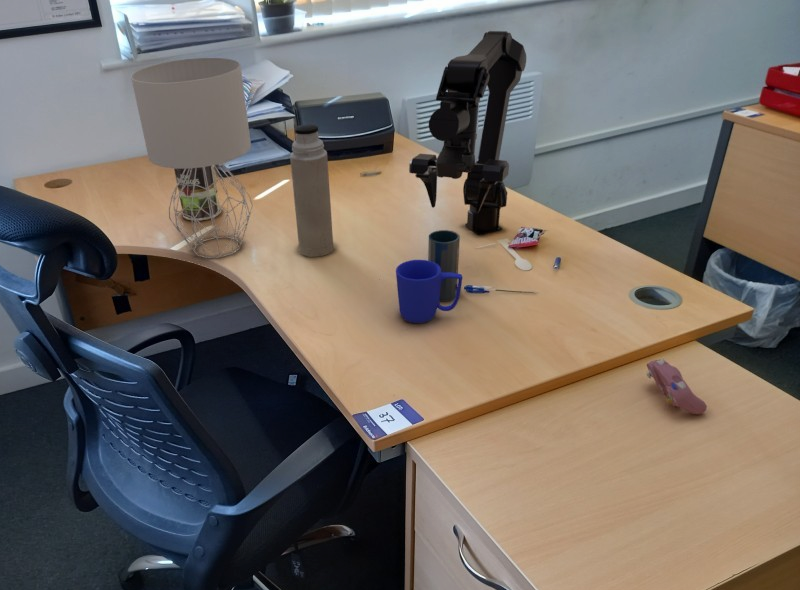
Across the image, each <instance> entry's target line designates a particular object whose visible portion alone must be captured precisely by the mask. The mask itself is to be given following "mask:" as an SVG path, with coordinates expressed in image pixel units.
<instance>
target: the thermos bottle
mask: <svg viewBox="0 0 800 590" xmlns="http://www.w3.org/2000/svg"><path fill="white" fill-rule="evenodd" d="M294 133H295V141H293V142H292V145H291V146H292V147H291V151H292V152H290V154H289V160H290V161H289V162H290V170H291V180H292V181H291V182H292V190H293V199H294V200H293V203H294V213H295V221H296V231H297V232H296V233H297V242H298V250H299V251H298V252H299V253H300V254H301V255H303V256H304V257H310V258H311V257H312V258H315V257H317V258H318V257H323V256H326V255H329V254H330V253H332V252H333V250H334V234H333V222H332V221H333V220H332V203H331V190H330V175H329V161H328V160H329V159H328V152H327V150H326V149H324V147H325V144H324V142H323V140H322V139H320V138H319V137H320V136H319V127H318V125H316V124H311V123H309V124H300V125H297V126H295V127H294Z"/></svg>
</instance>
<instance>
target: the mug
mask: <svg viewBox="0 0 800 590" xmlns="http://www.w3.org/2000/svg"><path fill="white" fill-rule="evenodd" d="M395 278H396V289H397V297H398V310H399V313H400V316H401V317H402V319H403V320H405V321H406V322H409V323H412V324H423V323H427V322H429V321H431V320H432V319H434V317H435V315H436V313H437V310H440V311H443V312H451V311H452V310H453V309H455V307H456V306H457V304H458V303H459V299H460V296H461V290H462V284H463V274H461V273H459V272H458V273H442V272H441V268H440V266H439V265H437V264H436V263H434V262H431V261H428V259H411V260H406V261H403V262H402V263H400V264H399V265H398V266H396V269H395ZM445 278H455V279H458V284H457V293H456V297H455V298H454V299H453V300H452V301H453V302H452V303H450V304H448V305H441V304H440V301H439V296H440V287H441V283H442V281H443V279H445Z"/></svg>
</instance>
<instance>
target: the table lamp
mask: <svg viewBox="0 0 800 590" xmlns="http://www.w3.org/2000/svg"><path fill="white" fill-rule="evenodd" d="M130 79H131V83H132V88H133V92H134V96H135V101H136V107H137V111H138V116H139V120H140V124H141V129H142V134H143V140H144V144H145V147H146V153H147V157H148V161H149V162H150V163H152V164H153V165H154V166H158V167H161V168H167V169H174V168H178V169H184V171H183V173H182V175H181V177H180V179H179V181H178V183H177V182H176V185H175V188H174V189H173V192H171V193H172V194H171V198H170V201H169V206H168V219H169V220H170V222H171V224H172V225H173V226H174V227H175V229H176V230H177V232H178V233H179V234H180V236H181V237H182V238H183V240H184V241H185V243H186V244H188V246H189V247H190V248H191V250H192V251H193V252H194V253H195V255H196V256H197V257H200V258H201V257H202V258H205V259H206V258H207V259H215V258H216V259H217V258H222V257H226V256H230V255H233V254H234V253H236V252H237V251H239V250H240V249H241V247H242V242H243V240H244V237H245V234H246V231H247V228H248V227H247V226H248V224H249V222H250V221H249V220H250V217H251V213H252V210H253V206H254V205H253V201H252V199H251V196H250V194H249V193H248V191H247V189H246V187H245V186H244V184H243V183H242V182H241V181H240V180H239V178H237V177H236V176H235V175H234V174H233V173H232V172H231V171H230V169H228V168H227V167H226V166H225V165H224V163H229V162H231V161H234V160H237V159H238V158H241V157H243V156H244V155H246V154H247V153H248V152H249V151H250V150H251V148H252V143H251V141H252V140H251V135H250V133H251V132H250V126H249V118H248V110H247V103H246V97H245V88H244V81H243V73H242V66H241V62H240V61H238V60H236V59H233V58H227V57H194V58H184V59H177V60H176V59H175V60H171V61H165V62H160V63H155V64H152V65H148V66H145V67H142V68H140V69H138V70H136V71H134V72H133V73H131V75H130ZM213 165H214V167H213ZM207 166H212V168H213V170H214V171H215V176H216V181H215V182H218V181H219V183H220V185H221V187H222V189H223V191H224V193H225V195H226V199H225V200H224V201H223V202H222V204H221V205H220V206H219V205H217V204H216V203H215V202H213V201H212V200H211V198H210V193H209V187H210V186H212V185H213V184H214V183H215V182H214V183H212V184H211V185H210V186H209V187H208V182H207V177H206V171H205V167H207ZM216 166H218V167H219V168H220V170H221V171H222V172H223V173H224V175H225V176H226V177H227V179H229V180H227V179H226V178H225V177H223V176H222V174H221V173H220V171H219V170H218V168H217V167H216ZM199 167H204V168H203V174H204V172H205V174H204V180H205V177H206V181H205V187H206V182H207V187H206V188H204V187H201V186H199V185H196V184H195V177H196V169H197V168H199ZM186 168H189V169H188V172H189V170H190V168H191V171H192V168H195V177H194V183H191V182H189V179H190V175H191V171H190V175H189V178H188V182H187V183H188V184H189V183H191V184H193V185H194V186H195V185H196V186H199V187H201V188H204V189H206V193H207V189H208V193H209V198H208V193H207V199H208V204H209V200H210V204H211V209H212V203H211V201H212V202H213V203H215V204H216V205H217V206H218V207H220V208H219V210H220V209H221V211H223V212H225V213H226V215H225V217H224V218H223V221H222V222H221V224H220V226H219V228H218V227H217V226H216V220H215V218H216V217H217V216H216V215H217V213H218V212H219V210H218V211H217V213H216V214H215V215H214V214H213V209H212V215H213V216H212V215H211V210H210V214H209V213H207V212H206V211H204V210H203V209H202V207H203V205H204V204H205V202H206V200H207V199H206V200H205V202H204V203H203V205H202V207H201V208H200V207H199V206H197V205H196V204H195V203H193V195H194V186H193V195H192V202H191V203H190V204H192V209H191V207H190V204H189V200H188V204H189V205H187V206H186V207H185V208H187V207H188V206H189V207H190V209H191V216H189V215H187V214H184V213H183V212H182V211H183V210H184V209H185V208H184V209H182V208H181V210H180V211H179V210H178V208H179V201H180V195H181V192H182V190H183V189H184V187H185V186H186V185H187V199H188V184H187V183H186V184H185V181H186V178H187V175H188V172H187V175H186V178H185V181H184V183H183V186H184V184H185V186H184V187H183V186H182V189H181V191H180V192H179V191H178V185H179V183H180V181H181V179H182V177H183V174H184V172H185V170H186ZM225 171H226V172H227V173H228V174H229V175H230V176H229V175H228V174H227V173H226V172H225ZM219 176H220V177H219ZM230 177H232V179H233V180H234V181H235V182H236V183H234V181H233V180H232V179H231V178H230ZM225 181H226V182H227V183H229V184H230V185H232V186H233V187H234V188H236V190H237V191H238V192H239V194H240V196H241V198H242V200H239V199H235V198H233V197H231V196H229V193H228V189H227V188H228V187H227V186H226V184H225ZM236 184H237V185H236ZM177 191H178V193H177ZM245 193H246V194H247V196H248V198H249V202H250V204H251V208H250V209H249V206H248V202H247V196H246V194H245ZM179 194H180V195H179ZM176 199H177V202H176V204H175V201H176ZM231 200H233V201H236V202H238V203H237V204H236V205H235V206H233V205H232V202H231ZM226 202H227V203H226ZM172 203H173V211H174V217H175V219H174V220H175V223H174V221H173V220H172V218H171V205H172ZM225 203H226V205H227V207H226V210H225V209H224V208H222V207H223V206H224V205H225ZM193 204H194V205H196V206H197V207H198V208H200V210H203V211H204V212H205V213H207V214H208V215H210V216H211V219H210V220H211V225H212V229H211V230H208V228H206V227H205V226H204V225H203V224H202V223H201V222H200V221H198V220H196V219H195V218H196V216H197V215H198V213H199V212H200V210H199V211H198V213H197V215H196V216H195V217H194V214H193V212H192V211H193ZM210 204H209V209H210ZM241 204H242V206H241V212H240V217H239V222H238V221H237V217H236V211H235V210H234V209H236V208H237V207H238V206H239V205H241ZM229 205H230V207H231V209H230V210H229ZM244 209H245V215H246V217H245V220H244V221H243V222H242V224H241V221H242V215H243V210H244ZM231 212H232V213H233V216H234V220H235V221H234V222H235V227H234V226H233V224H232V220H231V218H230V215H229V213H231ZM179 214H182V215H183V214H184V215H187V216H189V217H191V219H192V218H194V221H193V219H192V221H191V227H192V231H193V233H194V236H193V235H192V234H191V233H190V232H189V231H188V229H187V227H186V226H185V224H184V222H183V221H182V219H181V217H180V216H179ZM192 214H193V217H192ZM215 216H216V217H215ZM178 219H179V221H180V224H181V225H182V227H183V228H184V229H183V228H182V227H181V226H179V222H178ZM225 220H226V230H224V229H221V228H222V226H223V225H224V223H225ZM229 223H230V227H231V229H232V233H230V232H228V229H229V228H228V227H229ZM237 224H238V225H237ZM199 225H200V226H201V227H203V228H204V229H205V230H206V232H207V233H206V234H205V235H204V236H203V234H202V231H201V229H200V226H199ZM243 225H244V226H243ZM196 226H197V227H196ZM242 227H243V228H242ZM196 228H197V229H198V231H199V233H200V236H201V239H199V237H198V235H197V229H196ZM241 228H242V229H241ZM182 231H183V232H184V233H185V234H187V235H188V236H189V237H190V238H189V237H188V236H186V235H185V234H183V232H182ZM220 231H221V232H223V233H226V236H218V234H219V232H220ZM239 231H240V232H239ZM212 232H213V233H212ZM242 232H243V234H242ZM209 234H210V235H211V236H212V237H211V238H210V237H209V238H207V239H205V238H206V237H207V236H208V235H209ZM241 234H242V237H241V240H239V239H238V238H239V237H240V236H241ZM228 235H230V236H232V237H230V236H228ZM213 239H216V245H217V250H218V254H217V252H215V251H214V250H212V249H211V248H210V247H208V246H207V245H206V244H205V243H204V242H207V241H210V240H213ZM219 239H230V240H229V242H228V244H227V245H226V247H225V248H224V249H223V251H222V252H220V246H219V245H220V244H219ZM197 242H198V243H197ZM235 242H236V245H237V247H238V248H237V249H235V250H234V245H235ZM191 243H192V244H193V246H194V247H193V246H192V244H191ZM231 243H232V245H231V246H232V247H231V253H227V254H224V253H225V252H226V250H227V248H228V247H229V245H230V244H231ZM203 246H204V247H205V248H206V249H208V250H209V251H210V252H212V253H213V254H214V255H215V256H208V255H207V253H206V251H205V249H204V247H203ZM200 247H201V249H202V251H203V253H204V255H201V254H199V252H200ZM196 248H197V251H196Z"/></svg>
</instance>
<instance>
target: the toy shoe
mask: <svg viewBox="0 0 800 590" xmlns="http://www.w3.org/2000/svg"><path fill="white" fill-rule="evenodd" d="M646 367H647V370H648V371H646V373H645V374H646V377H647V378H649V379H652V378H653V380H654V382H655V384H656V386H657V387H658V389H659V390H660V392H661V393H662V395H666V397H667V399H666V401H667V403H668V404H671V406H673V407H674V408H675V407H679V408H680V409H681V410H683V411H685V412H687V413H689V414H692V415H703V414H704V413H705V412H706V411H707V408H708V406H707V403H706V402H705V401H704V400H703V399H701V398H700V397H698V396H697V395H696V394H695V393H694V392H692V391H693V390H691V388H690V387H689V384H688V383H687V382H686V380H684V378H683V375H682V373H681V371H680V370H679V369H678V368H676V367H675V366H673V365H671V364H670V363H669V362H667V361H666V360H665V359H664V358H661V359H655V360H651V361H650V362H647V363H646Z"/></svg>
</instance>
